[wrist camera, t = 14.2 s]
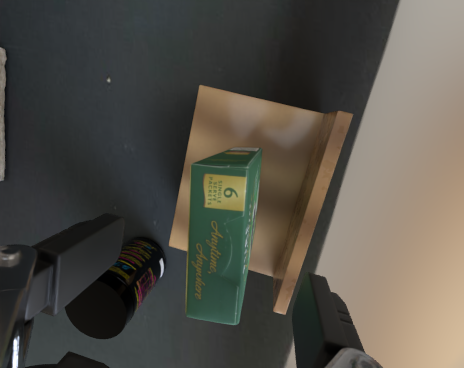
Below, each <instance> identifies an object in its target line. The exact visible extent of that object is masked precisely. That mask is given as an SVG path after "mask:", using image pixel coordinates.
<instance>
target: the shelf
mask: <svg viewBox="0 0 464 368" xmlns="http://www.w3.org/2000/svg"><path fill="white" fill-rule="evenodd" d="M352 116H353V114H351V113H347V112H342V111H335V112H330V113H326V114H323V113H318V112H314V111H310V110H305V109H301V108H297V107H293V106H288V105H284V104H280V103H276V102H271V101H267V100H263V99H258V98H254V97H250V96H246V95H241V94H237V93H233V92H229V91H224V90H220V89H216V88H211V87H207V86H203V85H200V86H199V90H198V96H197V101H196V106H195V111H194V117H193V122H192V127H191V132H190V137H189V143H188V148H187V153H186V158H185V163H184V169H183V174H182V179H181V184H180V189H179V195H178V200H177V205H176V210H175V215H174V221H173V226H172V231H171V236H170V241H169V246H172V247H175V248H178V249H182V250H185V251H187V246H188V221H189V187H190V165H191V164H192V163H194V162H197V161H200V160H202V159H205V158H207V157H210V156H213V155H215V154H218V153H221V152H223V151H226V150H228V149H231V148H234V147H249V148H262V162H261V174H260V184H259V195H258V206H257V216H256V226H255V233H254V239H253V244H252V250H251V255H250V260H249V266H248V269H249V270H252V271H256V272H259V273H263V274H266V275H269V276H273V311H275V312H278V313H281V314H284V315H285V314H286V311H287V308H288V305H289V302H290V299H291V296H292V293H293V290H294V287H295V284H296V281H297V278H298V275H299V273H300V270H301V267H302V264H303V261H304V258H305V255H306V252H307V249H308V246H309V243H310V240H311V237H312V234H313V231H314V228H315V225H316V222H317V219H318V216H319V213H320V210H321V207H322V204H323V201H324V198H325V196H326V193H327V190H328V187H329V184H330V181H331V178H332V175H333V172H334V169H335V166H336V163H337V160H338V157H339V154H340V151H341V148H342V145H343V142H344V139H345V136H346V133H347V130H348V127H349V124H350V122H351V119H352Z"/></svg>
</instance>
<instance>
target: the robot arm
mask: <svg viewBox="0 0 464 368" xmlns="http://www.w3.org/2000/svg"><path fill="white" fill-rule="evenodd" d="M124 227H125V220H124V218H123V217H119V216H116V215H112V214H109V213H105V214H103V215H101V216H99V217H97V218H95V219H94V220H89V221H85V222H80V223H77V224H75V225H73V226H71V227H69V228H68V229H65V230H63V231H61V232H60V233H59V234H58V233H57V234H55V235H53V236H51V237H49V238H47V239H45V240H43V241H41V242H39V243H37V244H35V245H33V246H31V247H30V246H27V245H5V246H0V368H24V367H25V362H26V358H27V353H28V348H29V343H30V338H31V334H32V329H33V324H34V316H35V315H36V314H38V313H39V312H43V313H46V314H49V315H52V316H55V315H56V314H57V313H58V312H59V311H61V310H62V309H63V308H64V307H65V306H66V305H67V304H69V303H70V302H71V301H72V300H73V299H74V298H76V297H77V296H78V295H79V294H80V293H81V292H82V291H84V290H85V289H86V288H87V287H88V286H89V285H90V284H92V283H93V282H94V281H95V280H96V279H97V278H99V277H100V276H101V275H102V274H103V273H104V272H105V271H107V270H108V269H109V268H110V267H111V266H112V265H113V264H114V263H115V262H116V261H117V259H118V258H119V255H120V253H121V248H122V241H123V234H124ZM292 323H293V334H294V344H295V355H296V365H297V368H383V367H382V366H381V365H380V364H379V363H378V362H377V361H376V360H374V359H373V358H372V357H370V356H369V355H367V354H366V353H365V351H364V349H363V346H362V344H361V342H360V339H359V336H358V334H357V331H356V329H355V326H354V325H353V322H352V319H351V316H349V312H348V309H347V306H346V304H345V303H344V302H343V300H342V299H341V298H340V297H339V296H338V295H337V294H336V293H333V292H331V291H330V288H329V286H328V283H327V280H326V278H325V277H323V276H319V275H316V274H312V273H309V272H306V273H305V275H304V278H303V280H302V283H301V286H300V289H299V292H298V295H297V298H296V301H295V304H294V308H293V314H292ZM25 368H109V367H108V366H107V365H105V364H104V363H101V362H98V361H95V360H92V359H90V358H87V357H84V356H81V355H78V354H75V353H72V352H70V351H69V352H68V353H67V354H66V355H65V356H64V357H63V358H62V359H61V360H60V361H59V363H58V364H42V365H35V366H29V367H25Z"/></svg>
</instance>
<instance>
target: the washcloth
mask: <svg viewBox="0 0 464 368" xmlns="http://www.w3.org/2000/svg"><path fill="white" fill-rule="evenodd" d="M5 52H6V51H5V49H3V48H0V181H1V180H4V179H3V178H4V176H5V175H4V173H5V171H4V170H5V146H6V145H5V137H4V136H5V132H4V131H5V129H4V128H5V127H4V126H5V125H4V117H3V116H4V105H5V104H4V101H5V92H4V89H5V86H6V84H5V82H6V76H5V75H6V71H5V67H4V65H5V61H6V59H7V57H6V54H5Z"/></svg>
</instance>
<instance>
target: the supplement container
mask: <svg viewBox="0 0 464 368" xmlns="http://www.w3.org/2000/svg"><path fill="white" fill-rule="evenodd" d="M165 269H166V258H165V255H164V253H163V251H162V249H161V248H160V247H159V246H158V245H157V244H156V243H155V242H153V241H151V240H149V239H146V238H134V239H131V240H129V241H127V242H126V243H125V244H123V245H122V248H121V253H120V255H119V258H118V259H117V261H116V262H115V263H114V264H113V265H112V266H111V267H110V268H109V269H108V270H107V271H105V272H104V273H103V274H102V275H101V276H100V277H99V278H97V279H96V280H95V281H94V282H93V283H92V284H90V285H89V286H88V287H87V288H86V289H85V290H84V291H82V292H81V293H80V294H79V295H78V296H77V297H76V298H74V299H73V300H72V301H71V302H70V303H69V304H67V305H66V306H65V310H66V313H67V316H68V317H69V319H70V321H71V322H72V324H73V325H74V326H75V327H76V328H77V329H78V330H80V331H81V332H82V333H84V334H86V335H88V336H90V337H93V338H97V339H109V338H112V337H115V336H117V335H118V334H119V333H120V332H121V331H122V330H123V329H124V327H125V326H126V325H127V323H128V322H129V321H130V320H131V318H132V317H133V315H134V313H135V312H136V311H137V309H138V308H139V307H140V305H141V304H142V303H143V301H144V300H145V299H146V297H147V296H148V294H149V293H150V292H151V290H152V289H153V288H154V286H155V285H156V284H157V282H158V281H159V280H160V278H161V277H162V276H163V274H164V272H165Z"/></svg>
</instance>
